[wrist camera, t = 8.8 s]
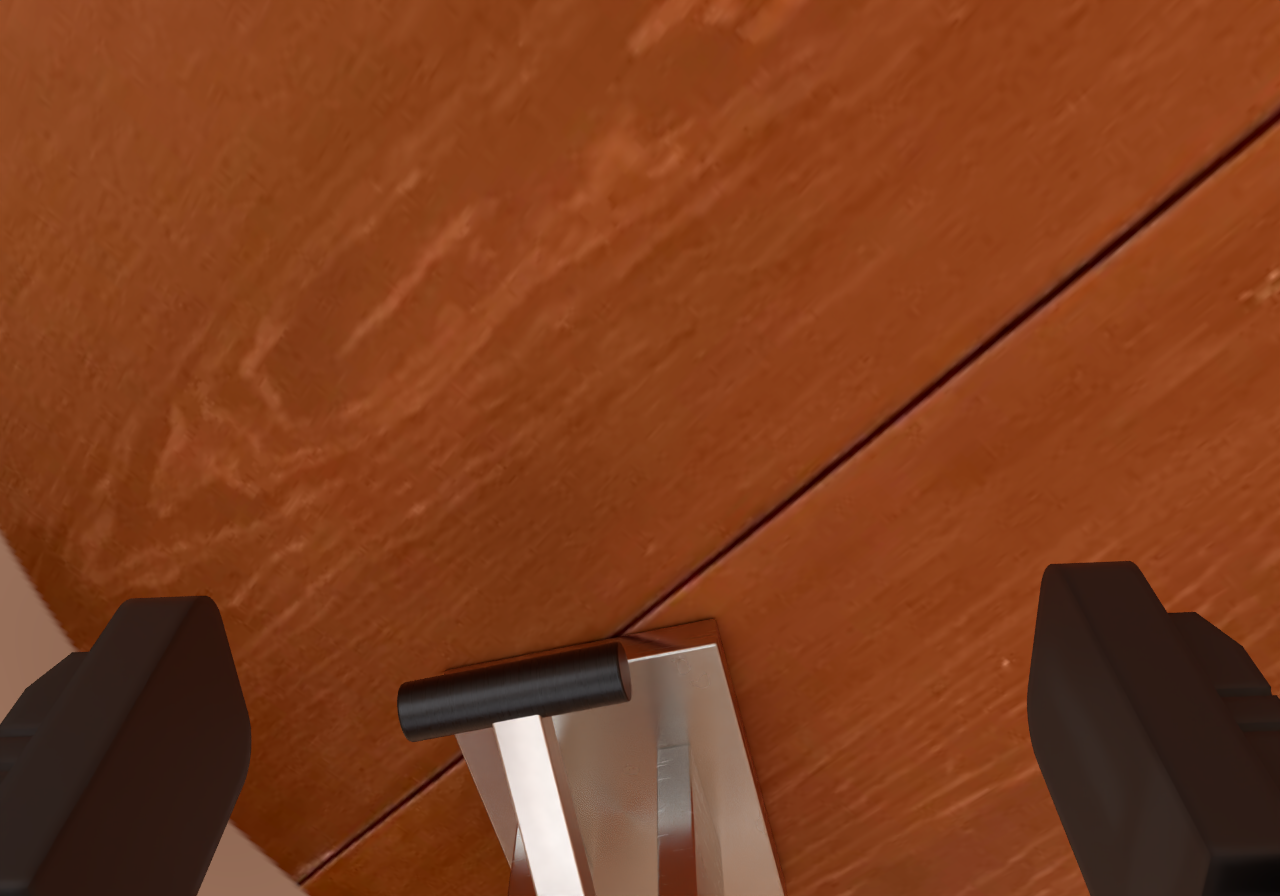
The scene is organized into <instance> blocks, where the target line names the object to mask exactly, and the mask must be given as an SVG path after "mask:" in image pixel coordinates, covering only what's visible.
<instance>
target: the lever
mask: <svg viewBox="0 0 1280 896" xmlns="http://www.w3.org/2000/svg"><path fill="white" fill-rule="evenodd" d="M631 697H632V683H631V675H630V669H629V664H628V660H627V656H626V653H625V650H624V648H623V646H622V644H621V643H620V642H618V641H617V642H612V643H607V644H601V645H596V646H591V647H586V648H581V649H575V650H570V651H565V652H560V653H555V654H550V655H544V656H539V657H534V658H529V659H524V660H519V661H513V662H508V663H503V664H498V665H493V666H487V667H482V668H477V669H472V670H467V671H462V672H456V673H451V674H446V675H441V676H436V677H430V678H425V679H420V680H415V681H410V682H405V683H403V684H402V685H401V686H400V688H399V691H398V698H397V708H398V716H399V721H400V725H401V728H402V731H403V733H404V735H405V737H406V738H407V739H408V740H409V741H411V742H417V741H422V740H427V739H433V738H438V737H443V736H449V735H454V734H460V733H465V732H470V731H476V730H481V729H486V728H492V727H493V729H494V733H495V737H496V741H497V745H498V749H499V752H500V756H501V760H502V764H503V768H504V772H505V776H506V780H507V784H508V788H509V791H510V795H511V799H512V803H513V807H514V811H515V815H516V819H517V823H518V827H519V830H520V834H521V838H522V842H523V846H524V850H525V854H526V858H527V862H528V866H529V869H530V873H531V877H532V881H533V885H534V889H535V893H536V896H596V893H595V889H594V885H593V881H592V877H591V873H590V869H589V865H588V861H587V857H586V853H585V849H584V845H583V841H582V837H581V833H580V829H579V825H578V821H577V817H576V813H575V809H574V805H573V801H572V797H571V793H570V789H569V785H568V781H567V777H566V773H565V769H564V765H563V761H562V756H561V752H560V748H559V744H558V740H557V736H556V732H555V728H554V724H553V720H552V716H556V715H561V714H567V713H572V712H577V711H583V710H588V709H594V708H599V707H604V706H610V705H615V704H620V703H626V702H629V701H630V700H631Z"/></svg>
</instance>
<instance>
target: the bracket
mask: <svg viewBox="0 0 1280 896" xmlns="http://www.w3.org/2000/svg"><path fill="white" fill-rule="evenodd" d="M617 641H618V642H620V643H621V644H622V646H623V648H624V650H625V653H626V656H627V660H628V664H629V669H630V675H631V683H632V697H631V700H630V701H629V702H626V703H620V704H615V705H610V706H604V707H599V708H594V709H588V710H583V711H577V712H572V713H567V714H561V715H556V716H552V720H553V724H554V728H555V732H556V736H557V740H558V744H559V748H560V752H561V756H562V761H563V765H564V769H565V773H566V777H567V781H568V785H569V789H570V793H571V797H572V801H573V805H574V809H575V813H576V817H577V821H578V825H579V829H580V833H581V837H582V841H583V845H584V849H585V853H586V857H587V861H588V865H589V869H590V873H591V877H592V881H593V885H594V889H595V893H596V896H787V890H786V884H785V880H784V876H783V872H782V868H781V865H780V861H779V857H778V853H777V850H776V846H775V842H774V838H773V835H772V831H771V827H770V823H769V819H768V816H767V812H766V808H765V804H764V801H763V797H762V793H761V789H760V785H759V782H758V778H757V774H756V770H755V767H754V763H753V759H752V755H751V751H750V748H749V744H748V740H747V736H746V733H745V729H744V725H743V721H742V718H741V714H740V710H739V706H738V702H737V699H736V695H735V691H734V687H733V684H732V680H731V676H730V672H729V668H728V665H727V661H726V657H725V653H724V650H723V646H722V642H721V638H720V634H719V631H718V627H717V623H716V621H715V619H708V620H703V621H698V622H693V623H687V624H682V625H677V626H672V627H667V628H662V629H656V630H651V631H646V632H641V633H636V634H631V635H625V636H620V637H615V638H610V639H605V640H600V641H594V642H589V643H584V644H579V645H574V646H569V647H563V648H558V649H553V650H548V651H543V652H538V653H532V654H527V655H522V656H517V657H512V658H507V659H501V660H496V661H491V662H486V663H481V664H476V665H470V666H465V667H460V668H455V669H450V670H446V671H445V673H444V675H446V674H451V673H456V672H462V671H467V670H472V669H477V668H482V667H487V666H493V665H498V664H503V663H508V662H513V661H519V660H524V659H529V658H534V657H539V656H544V655H550V654H555V653H560V652H565V651H570V650H575V649H581V648H586V647H591V646H596V645H601V644H607V643H612V642H617ZM455 737H456V739H457V741H458V744H459V746H460V749H461V751H462V753H463V756H464V758H465V761H466V763H467V765H468V768H469V770H470V773H471V775H472V777H473V780H474V782H475V784H476V787H477V789H478V792H479V794H480V796H481V799H482V801H483V804H484V806H485V808H486V811H487V813H488V816H489V818H490V820H491V823H492V825H493V828H494V830H495V832H496V835H497V837H498V840H499V842H500V844H501V847H502V849H503V851H504V854H505V856H506V859H507V861H508V863H509V866H510V868H511V873H510V881H509V889H508V896H536V893H535V889H534V885H533V881H532V877H531V873H530V869H529V866H528V862H527V858H526V854H525V850H524V846H523V842H522V838H521V834H520V830H519V827H518V823H517V819H516V815H515V811H514V807H513V803H512V799H511V795H510V791H509V788H508V784H507V780H506V776H505V772H504V768H503V764H502V760H501V756H500V752H499V749H498V745H497V741H496V737H495V733H494V729H493V727H492V728H486V729H481V730H476V731H470V732H465V733H460V734H455Z"/></svg>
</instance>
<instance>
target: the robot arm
mask: <svg viewBox="0 0 1280 896" xmlns="http://www.w3.org/2000/svg"><path fill="white" fill-rule="evenodd" d="M1027 712H1028V723H1029V731H1030V737H1031V742H1032V746H1033V750H1034V753H1035V756H1036V759H1037V762H1038V764H1039V767H1040V769H1041V772H1042V774H1043V777H1044V779H1045V782H1046V784H1047V787H1048V789H1049V792H1050V794H1051V797H1052V799H1053V802H1054V804H1055V807H1056V810H1057V812H1058V815H1059V817H1060V820H1061V822H1062V825H1063V827H1064V830H1065V832H1066V835H1067V837H1068V840H1069V842H1070V845H1071V847H1072V850H1073V852H1074V855H1075V857H1076V860H1077V862H1078V865H1079V867H1080V870H1081V872H1082V875H1083V877H1084V880H1085V882H1086V885H1087V888H1088V890H1089V893H1090V895H1091V896H1280V699H1279V698H1278V697H1277V695H1273V696H1272V694H1271V686H1270V685H1269V684H1268V682H1267V681H1266V679H1265V678H1264V676H1263V675H1262V674H1261V672H1260V671H1259V669H1258V668H1257V666H1256V665H1255V664H1254V662H1253V661H1252V659H1251V658H1250V656H1249V655H1248V653H1247V652H1246V651H1245V649H1244V648H1243V646H1241V645H1240V644H1239V643H1237V642H1236V641H1235V640H1233V639H1232V638H1230V637H1229V636H1228V635H1226V634H1225V633H1223V632H1222V631H1221V630H1219V629H1218V628H1217V627H1215V626H1214V625H1212V624H1211V623H1210V622H1208V621H1207V620H1206V619H1204V618H1203V617H1201V616H1200V615H1199V614H1197V613H1196V612H1183V613H1167V612H1166V610H1165V608H1164V607H1163V605H1162V604H1161V602H1160V601H1159V599H1158V597H1157V596H1156V594H1155V593H1154V591H1153V589H1152V588H1151V586H1150V585H1149V583H1148V582H1147V580H1146V578H1145V577H1144V575H1143V574H1142V572H1141V571H1140V569H1139V568H1138V566H1137V565H1135V564H1134V563H1133V562H1131V561H1118V562H1093V563H1068V564H1050V565H1049V566H1048V567H1047V568H1046V569H1045V572H1044V574H1043V578H1042V582H1041V588H1040V596H1039V604H1038V612H1037V620H1036V628H1035V636H1034V644H1033V652H1032V659H1031V667H1030V675H1029V683H1028V693H1027ZM250 754H251V727H250V720H249V715H248V711H247V708H246V704H245V700H244V697H243V693H242V690H241V686H240V682H239V679H238V675H237V672H236V668H235V665H234V661H233V657H232V654H231V650H230V647H229V643H228V639H227V636H226V632H225V629H224V625H223V621H222V618H221V615H220V612H219V609H218V607H217V605H216V604H215V602H214V601H213V600H212V599H211V598H210V597H208V596H185V597H160V598H135V599H129V600H126V601H125V602H124V603H123V604H122V605H121V606H120V607H119V608H118V610H117V611H116V613H115V614H114V616H113V617H112V619H111V620H110V622H109V623H108V625H107V626H106V628H105V629H104V631H103V632H102V634H101V635H100V637H99V638H98V639H97V641H96V642H95V644H94V645H93V647H92V648H91V650H90V651H89V652H72V653H71V654H70V655H68V656H67V657H66V658H65V659H63V660H62V661H61V662H60V663H58V664H57V665H56V666H54V667H53V668H52V669H50V670H49V671H48V672H47V673H46V674H44V675H43V676H41V677H40V678H39V679H38V680H36V681H35V682H34V683H33V684H31V685H30V686H29V687H27V688H26V689H25V691H24V692H23V693H22V695H21V696H20V698H19V699H18V700H17V702H16V703H15V705H14V706H13V707H12V709H11V710H10V712H9V713H8V714H7V716H6V717H5V719H4V720H3V721H2V723H1V724H0V896H196V895H197V893H198V891H199V888H200V886H201V884H202V882H203V879H204V877H205V875H206V872H207V870H208V867H209V865H210V863H211V860H212V858H213V855H214V853H215V851H216V848H217V846H218V844H219V841H220V839H221V837H222V834H223V832H224V829H225V827H226V825H227V822H228V820H229V818H230V815H231V813H232V811H233V808H234V806H235V804H236V801H237V799H238V796H239V794H240V792H241V789H242V787H243V785H244V782H245V779H246V776H247V772H248V768H249V762H250Z"/></svg>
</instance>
